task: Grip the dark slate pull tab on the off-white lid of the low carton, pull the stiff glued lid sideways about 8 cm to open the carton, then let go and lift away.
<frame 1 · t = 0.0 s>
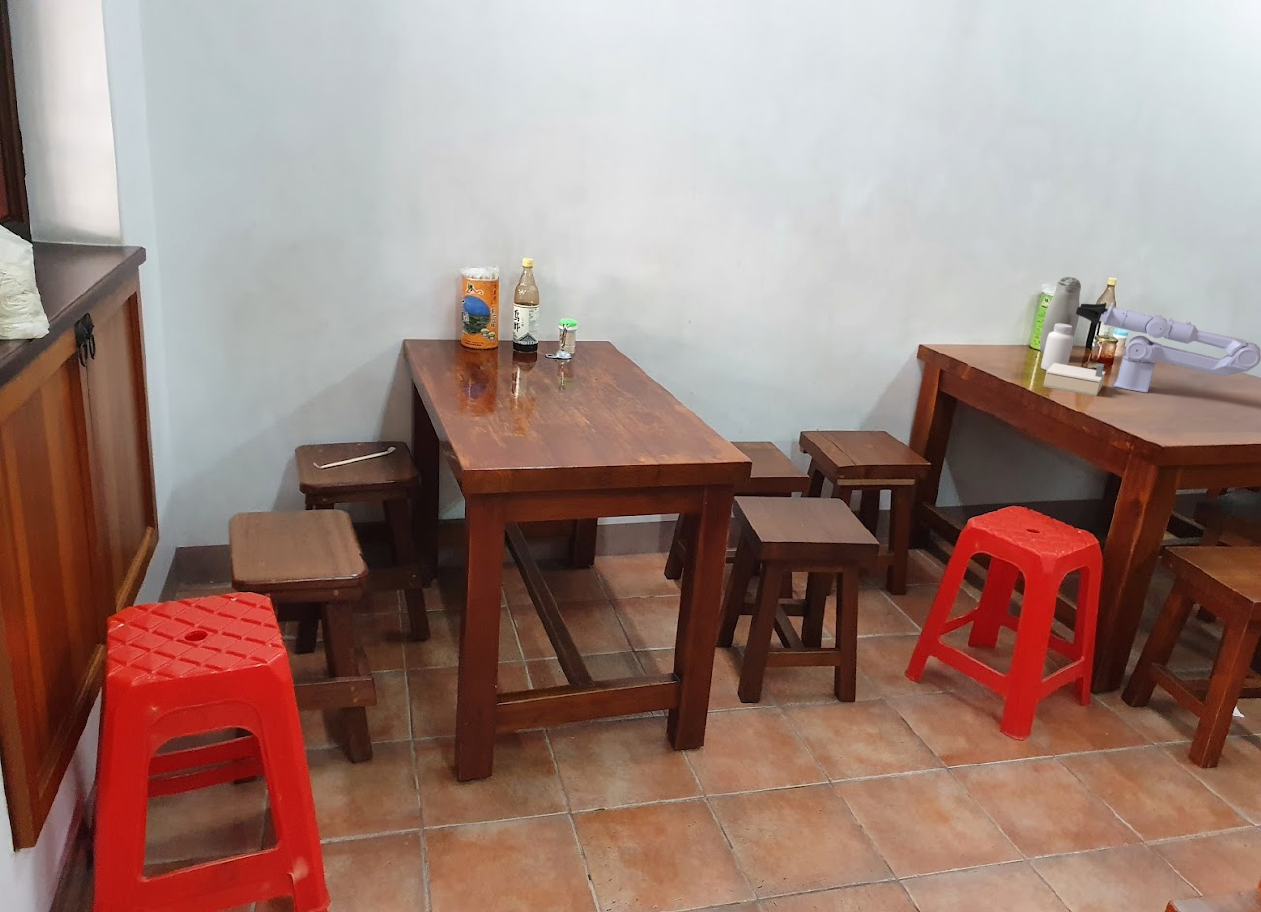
hand: (1078, 308, 299), 22 cm above the table, tool horizontal, fingers open, 7 cm apart
pill bottle: (1053, 370, 313), on the table
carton: (1072, 386, 294), on the table
gray tapered bottle: (1052, 359, 329), on the table
carton lid: (1077, 367, 291), point 6 cm above the table, slide at 0.0 cm
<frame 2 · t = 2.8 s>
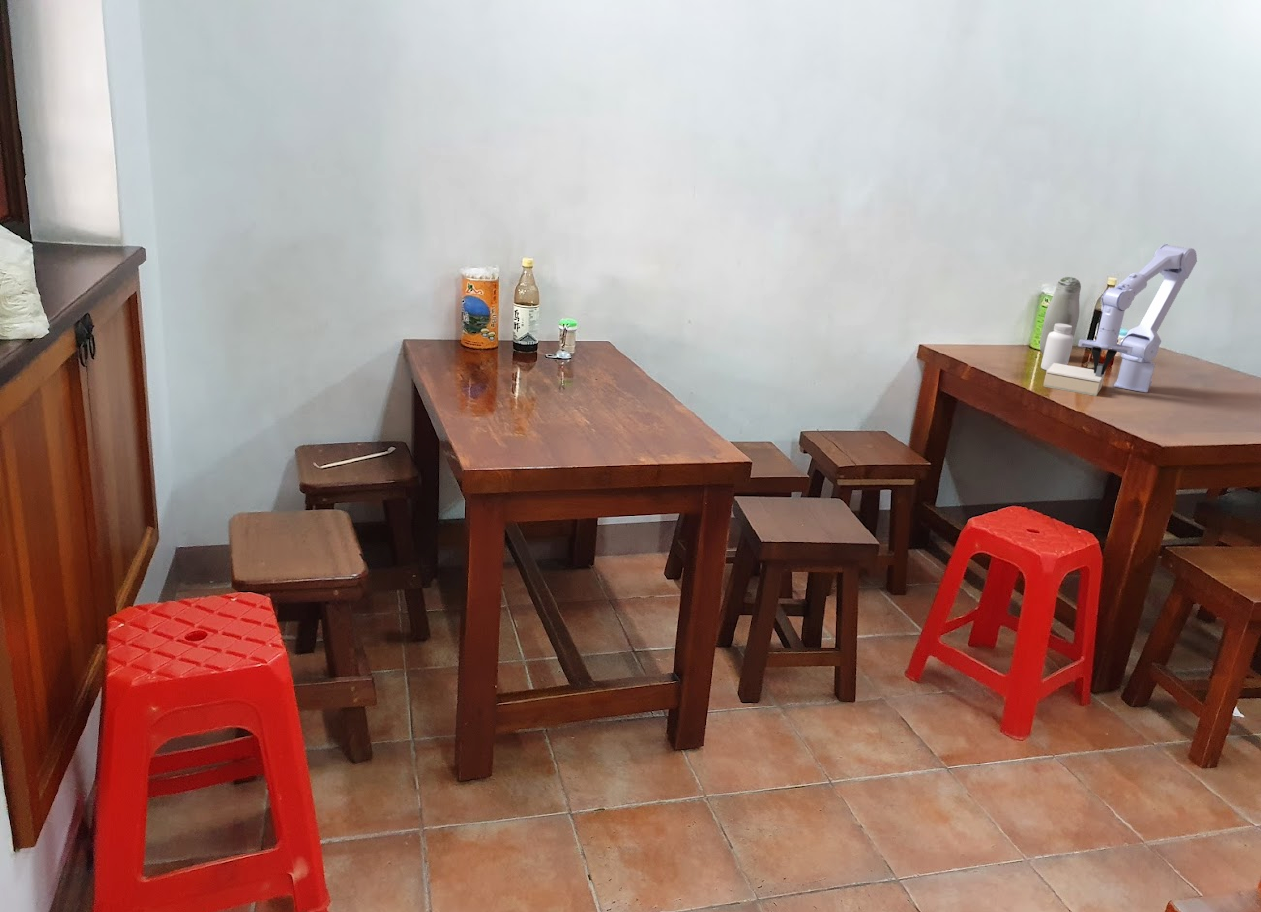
hand: (1098, 373, 289), 5 cm above the table, tool pointing down, fingers closed on carton lid
carton lid: (1077, 367, 291), point 6 cm above the table, slide at 0.0 cm, touching gripper
everything else where it was.
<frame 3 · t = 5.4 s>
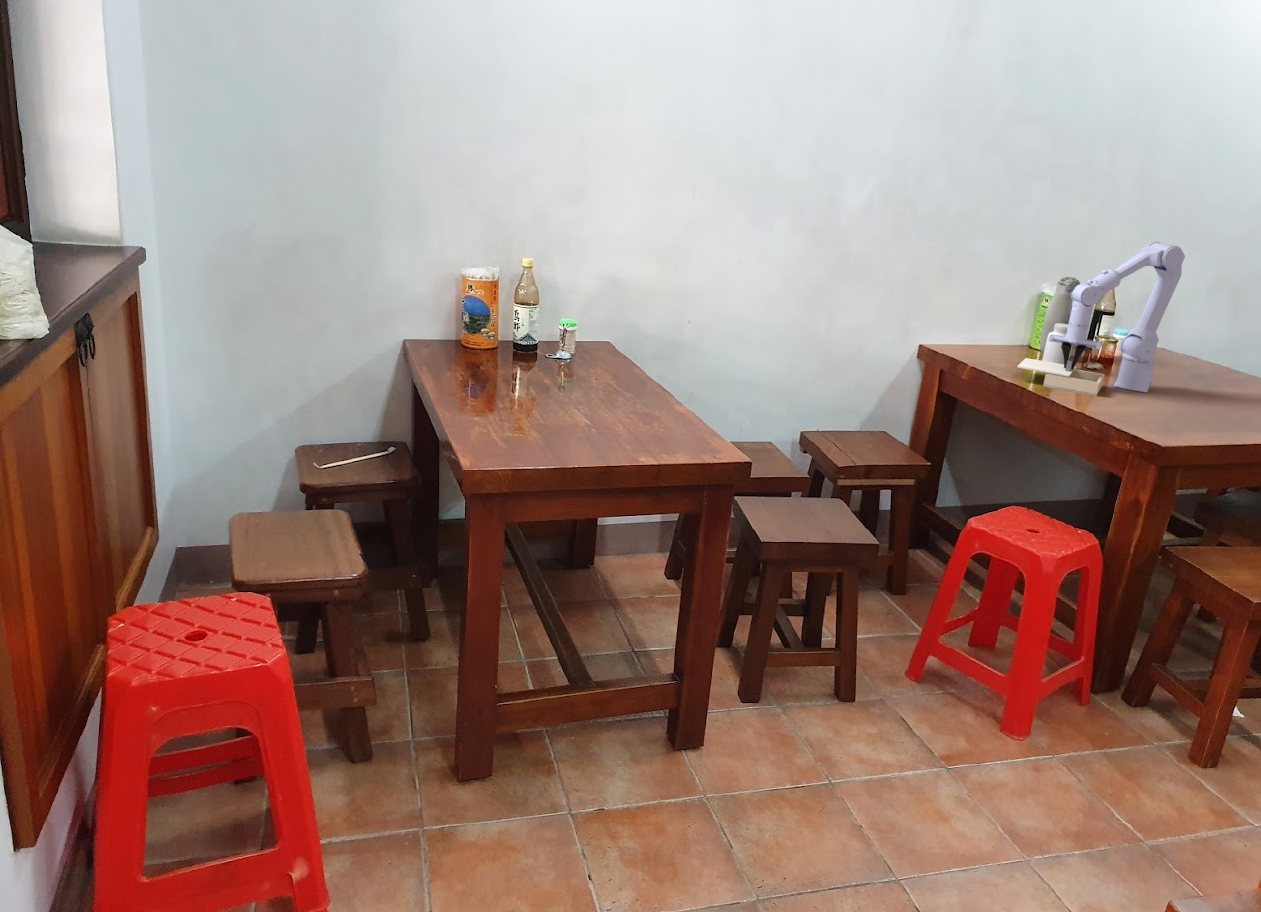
hand: (1068, 368, 293), 5 cm above the table, tool pointing down, fingers closed on carton lid
carton lid: (1047, 362, 295), point 6 cm above the table, slide at 8.5 cm, touching gripper
everything else where it was.
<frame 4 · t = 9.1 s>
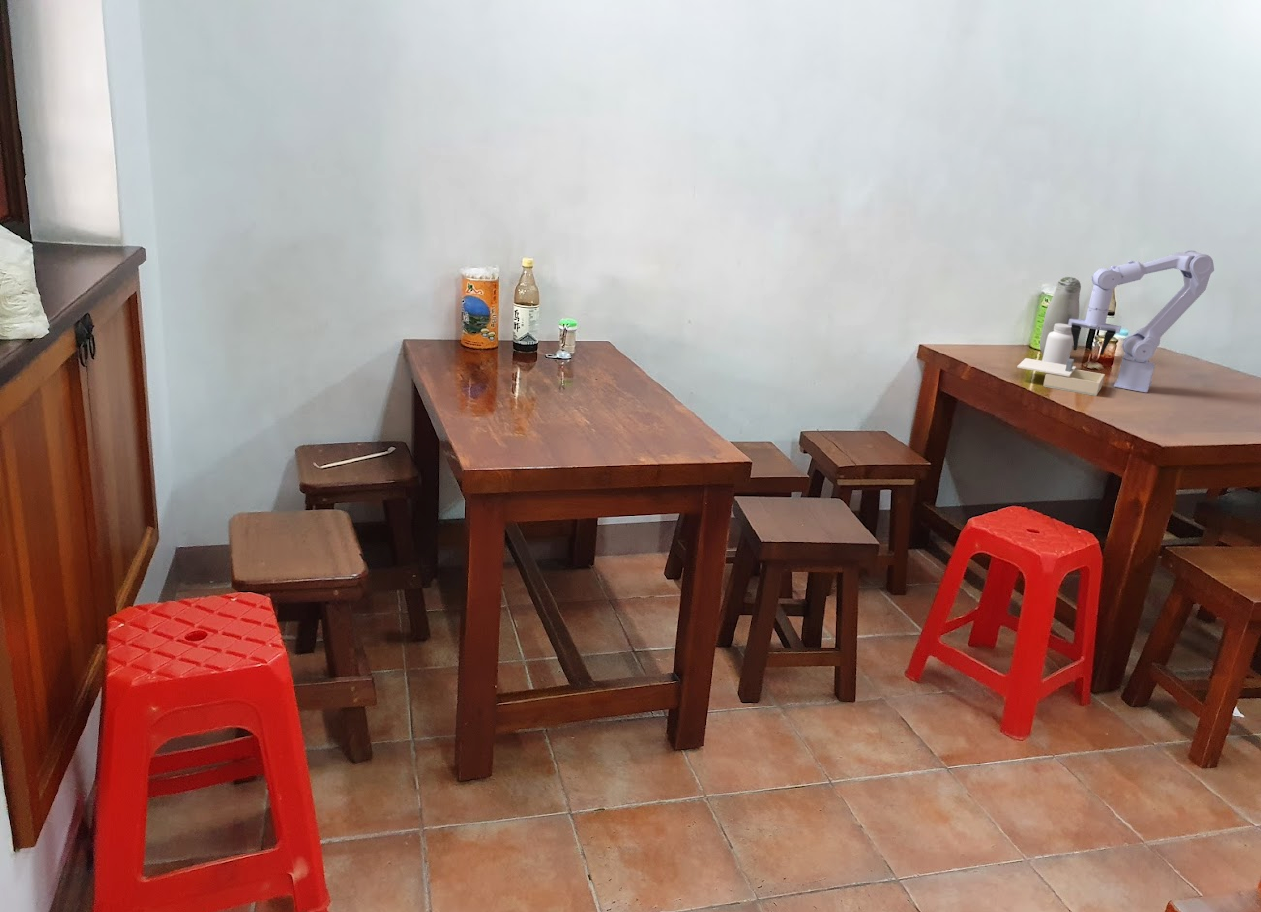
hand: (1088, 352, 295), 10 cm above the table, tool pointing down, fingers open, 7 cm apart
carton lid: (1047, 362, 295), point 6 cm above the table, slide at 8.5 cm
everything else where it was.
at the end: carton lid slide at 8.5 cm; pill bottle moved 0.2 cm from its start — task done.
